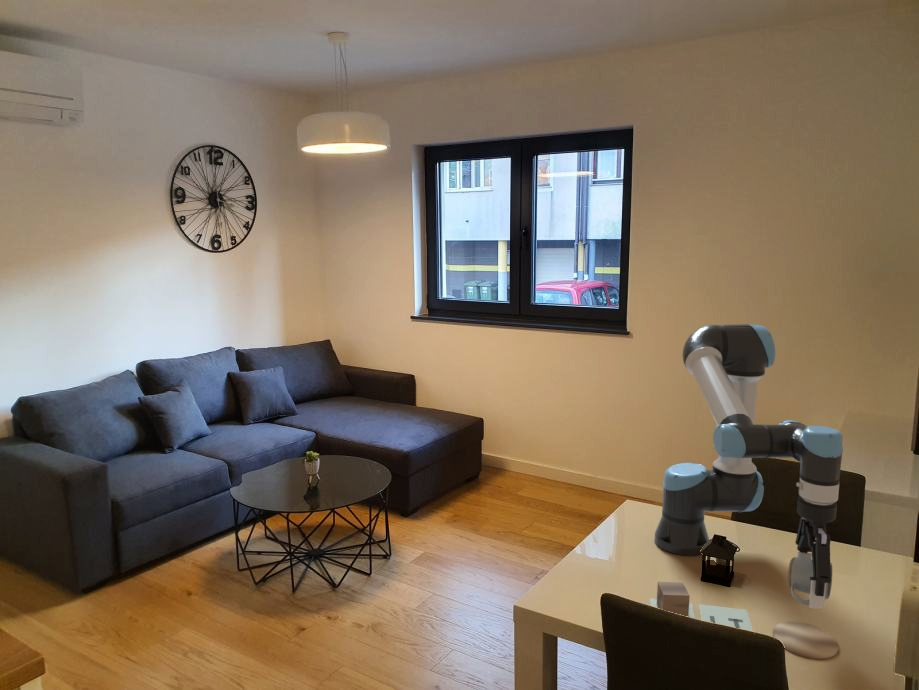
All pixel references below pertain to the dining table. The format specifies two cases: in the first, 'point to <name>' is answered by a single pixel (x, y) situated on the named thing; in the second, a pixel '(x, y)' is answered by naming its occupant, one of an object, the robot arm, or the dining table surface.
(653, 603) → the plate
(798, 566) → the ceramic mug
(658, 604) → the walnut block
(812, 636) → the coaster
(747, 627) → the plate
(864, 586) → the dining table surface
